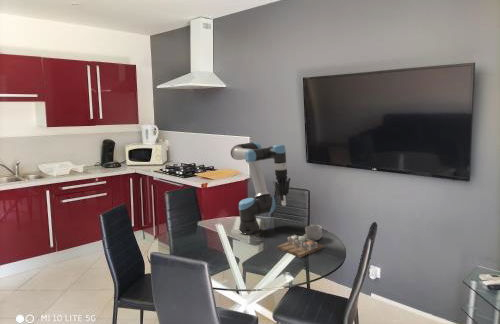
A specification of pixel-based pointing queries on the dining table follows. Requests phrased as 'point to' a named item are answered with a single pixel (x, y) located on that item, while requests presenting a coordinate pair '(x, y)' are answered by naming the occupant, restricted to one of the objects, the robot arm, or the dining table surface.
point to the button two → (301, 238)
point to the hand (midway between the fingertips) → (283, 205)
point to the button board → (299, 247)
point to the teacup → (313, 232)
